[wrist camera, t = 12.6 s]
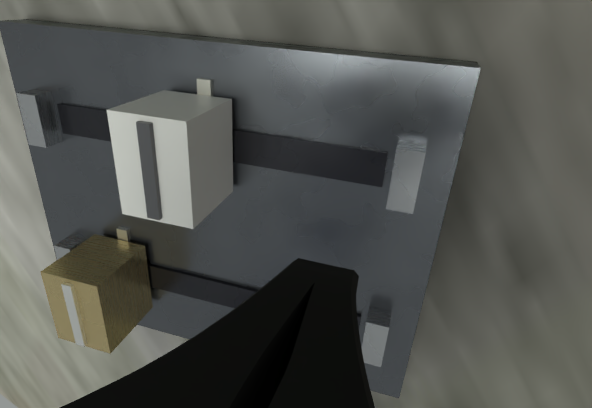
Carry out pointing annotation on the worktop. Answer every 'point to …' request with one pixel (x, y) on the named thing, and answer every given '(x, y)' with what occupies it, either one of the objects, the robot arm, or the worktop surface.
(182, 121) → the block
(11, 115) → the worktop surface
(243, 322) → the robot arm
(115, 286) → the tan striped block
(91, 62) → the mixer panel
